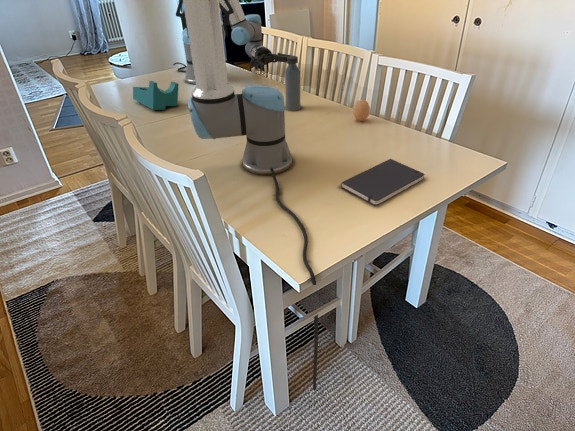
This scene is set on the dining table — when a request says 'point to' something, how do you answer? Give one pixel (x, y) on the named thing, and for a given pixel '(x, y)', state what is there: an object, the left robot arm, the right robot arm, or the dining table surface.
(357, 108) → the egg
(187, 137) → the dining table surface
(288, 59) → the cap
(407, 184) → the notebook
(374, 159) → the dining table surface
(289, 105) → the bottle
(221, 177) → the dining table surface
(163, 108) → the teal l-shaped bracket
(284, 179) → the dining table surface
